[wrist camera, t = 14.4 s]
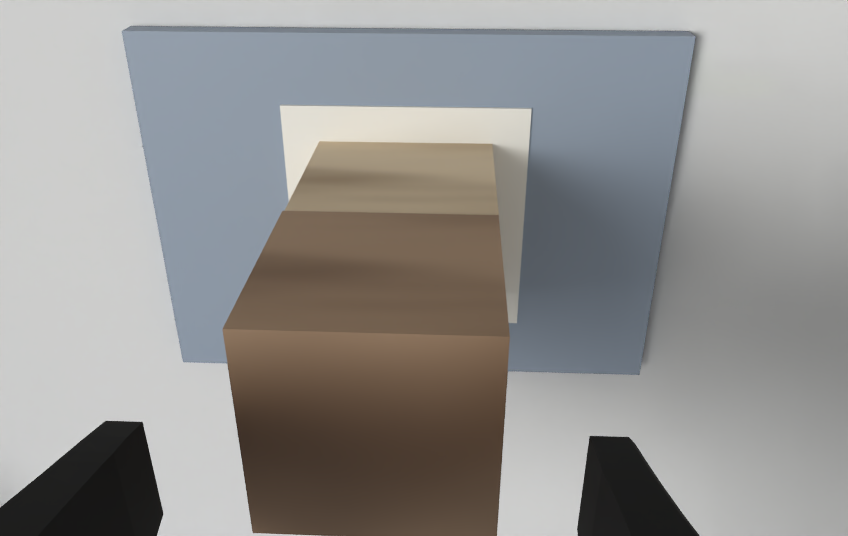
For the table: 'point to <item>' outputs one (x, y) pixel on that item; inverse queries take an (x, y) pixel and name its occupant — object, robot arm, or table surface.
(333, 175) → the oak cube
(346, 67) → the board
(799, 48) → the table surface
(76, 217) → the table surface
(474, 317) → the walnut cube
